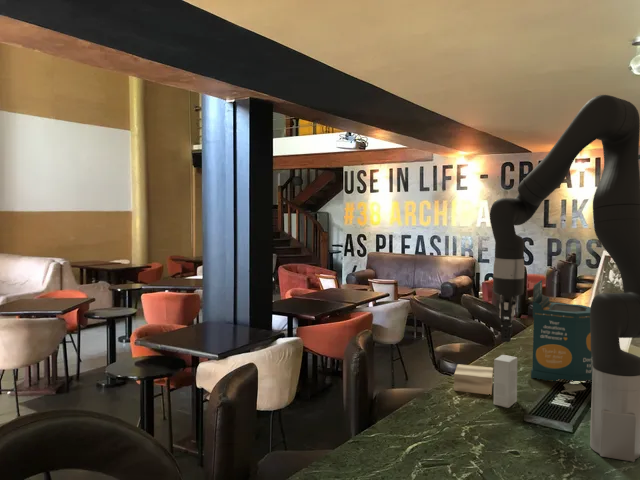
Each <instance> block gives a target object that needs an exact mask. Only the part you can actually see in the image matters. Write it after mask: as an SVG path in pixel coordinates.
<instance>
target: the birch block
mask: <svg viewBox="0 0 640 480" xmlns="http://www.w3.org/2000/svg"><path fill="white" fill-rule="evenodd" d="M453 375H454V379H453V391H456V392H465V393H472V394H481V395H489V394H490V395H491V396H492V394H493V387H494V367H490V366H482V365H481V366H480V365H470V364H462V363H461V364H459V363H458V364H456V368H455V372H454V374H453ZM490 395H489V396H490Z"/></svg>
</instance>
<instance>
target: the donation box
mask: <svg viewBox="0 0 640 480" xmlns="http://www.w3.org/2000/svg"><path fill="white" fill-rule="evenodd" d="M532 287H533V289H532V316H531V317H532V318H533V328H532V329H533V332H532V339H533V340H532V368H531V370H530V379H533V378H537V379H536V380H540V379H544V380H543V381H547V380H553V381H556V380H558V379H566V380H573V381H584V380H592V372H593V359H592V353H591V332H590V308H591V306H586V305H582V304H572V303H562V302H551V301H550V297H549V296H546V295H544V294H543V280H539V281H538V282H537V283H536V284H534V285H533V286H532ZM553 381H552V382H553Z"/></svg>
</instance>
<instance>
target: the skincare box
mask: <svg viewBox="0 0 640 480" xmlns="http://www.w3.org/2000/svg"><path fill="white" fill-rule="evenodd" d="M517 401H518V357H517V356H513V355H512V356H511V355H506V354H500V355H499V356H498V357H496V358H494V359H493V405H495V406H499V407H503V408H511V407H512V406H513V405H514V404H516V403H517Z"/></svg>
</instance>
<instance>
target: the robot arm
mask: <svg viewBox="0 0 640 480" xmlns="http://www.w3.org/2000/svg"><path fill="white" fill-rule="evenodd" d="M596 140H598V141H601V143H602V145H601V146H602V150H603V151H602V153H603V170H602V174H601V176H600V180H599V182H598V184H597V187H596V189H595V191H594V195H593V198H592V215H593V216H592V218H593V230H594V233H595V235H596V237H597V239H598V241H599V243H600V244H601V246H602V247H603V248H604V250H605V251H606V253H607V254H608V255H609V257H610V258H611V259H612V260H613V262H614V263H615V265H616V267H617V269H618V271H619V273H620V278H621V282H622V287H623V288H622V289H623V292H602V293H598V294H597V295H595V296H594V297H593V299H592V300H591V301H592V302H591V304H590V307H591V308H590V332H591V353H592V359H593V372H592V383H591V399H590V400H591V401H590V402H591V405H590V406H591V407H590V434H589V435H590V437H589V440H590V442H589V446H590V448H591V449H592V450H593V451H594V452H596V453H597V454H599V456H600V457H603V458H610V459H616V460H621V461H627V462H636V459H639V458H640V356H638V355H636V354H633V353H631V352H627V351H625V350H622V348H621V343H620V339H622V338H623V339H640V164H639V162H640V161H639V159H640V158H639V150H640V113H639V110H638V109H637V107H636V106H635V104H633V103H632V102H630V101H629V100H626V99H624V98H623V99H622V98H619V97H617V96H613V95H609V94H599V95H596V96H593V97H591V99H589V100H587V102H586V103H585V104H584V105H583V106H582V107H581V108H580V109H579V111H578V112H577V114H576V116H574V118H573V119H572V121H571V122H570V123H569V125H568V126H567V128H566V129H565V130H564V131H563V133H562V134H561V135H560V137H559V138H558V140H557V141H556V142H555V144H554V145H553V147H552V148H551V149H550V151H549V152H548V153H547V154H546V155H545V157H544V158H543V159H542V160H540V162H539V163H538V164H537V165H536V166H535V167H534V168H533V169H532V170H531V171H530V172H529V173H528V174H527V175H526V176H525V177H524V178H523V179H522V180H521V181H520V183H519V184H518V186H517V192H518V194H517V195H516V196H515V197H513V198H512V197H508V198H507V197H503V198H497V199H496V200H495V201H493V203H492V204H491V207H490V211H489V221H490V226H491V229H492V230H491V232H492V236H493V238H494V242H495V246H494V262H493V268H492V270H493V273H492V274H493V275H492V276H493V277H492V278H493V279H492V281H493V282H492V292H493V294H495V295H498V296H499V295H501V296H502V299H500V300H499V307H498V308H499V318H500V322H499V325H500V327H501V330H500V331H501V333H500V334H501V335H500V337H501V339H500V340H501V342H504V343H505V342H506V343H510V342H511V340H512V339H511V336H512V334H513V330H514V329H513V327H514V326H513V325H514V319H515V315H516V308H517V300H515V298H516V297H519V296H523V295H524V294H525V293H524V292H525V289H524V288H525V259H524V256H525V240H524V238H523V237H522V236H520V235H517V234H516V229H515V226H521V225H523V224H526V223H527V222H528V221H529V220H530V219H531V218H533V216H534V215H535V214H536V212H537V210H538V209H539V207H540V206H541V204H542V202H543V201H544V200H546V199H547V198H548V197H549V196H550V195H551V194H552V193H554V192H555V190H556V189H558V187H560V185H561V184H562V183H563V182H564V180H565V179H566V177H567V175H568V173H569V171H570V169H571V167H572V164H573V163H574V161H575V159H576V158H577V156H578V155H579V154H580V153H581V152H582V151H583V150H584V149H585V148H586V147H588V146H589V145H590V144H592V143H593V142H594V141H596Z"/></svg>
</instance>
